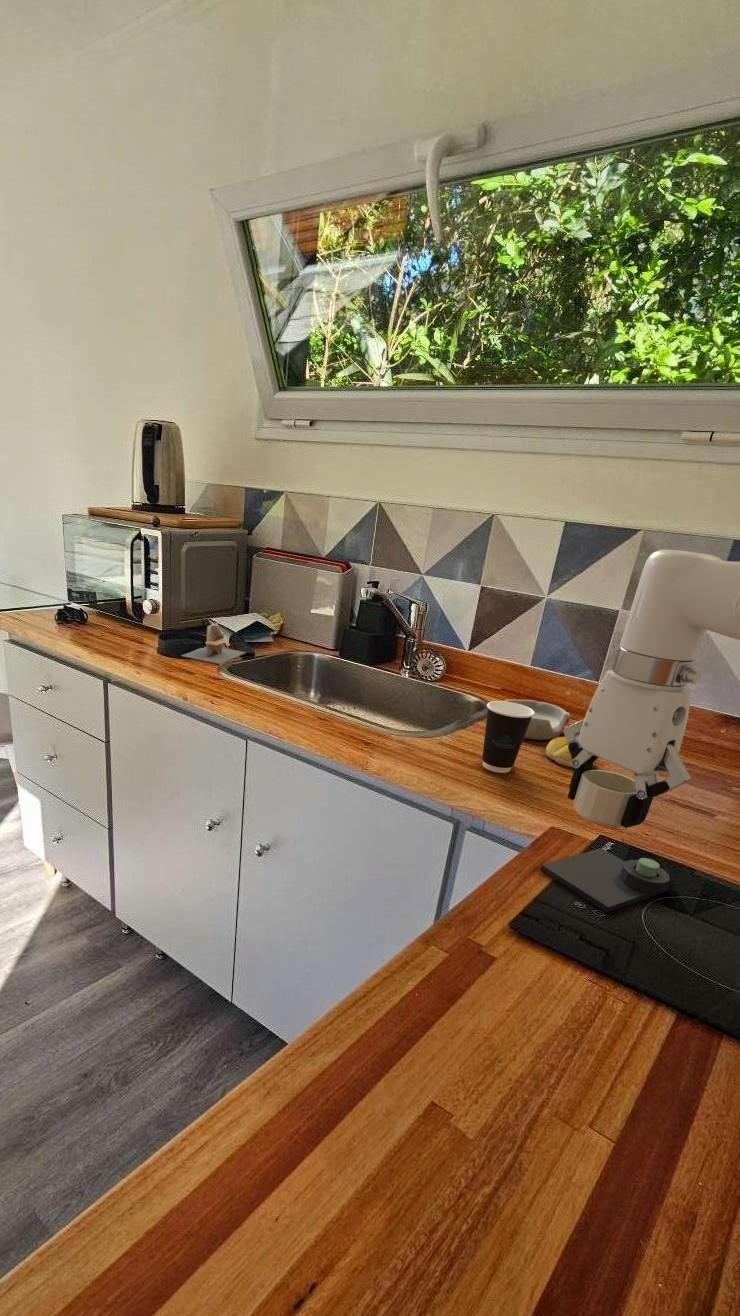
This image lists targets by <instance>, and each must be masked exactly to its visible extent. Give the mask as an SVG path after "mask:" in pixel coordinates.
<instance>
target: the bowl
mask: <svg viewBox="0 0 740 1316" xmlns="http://www.w3.org/2000/svg"><path fill="white" fill-rule="evenodd" d="M633 795H636V788H635V780H634V779H633V778H631V777H629V776H627V775H624V774H622V773H618V772H614V771H609V770H604V769H595V770H588V771H585V772H584V773H583V774H582V776H581V780H580V783H579V786H578V789H577V792H576V796H575V799H574V800H573V802H572V805H573V809H574V810H575V811H576V813H577V814H578V815H579V816H580V817H582V818H583V819H585V820H587V821H589V822H592V823H594V824H596V825H600V826H603V827H610V828H620V827H622V826H621V820H622V817H623V815H624V812H625V809H626V806H627V803H628V800H629V798H630V796H633Z"/></svg>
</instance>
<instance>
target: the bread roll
mask: <svg viewBox="0 0 740 1316" xmlns="http://www.w3.org/2000/svg"><path fill="white" fill-rule="evenodd" d="M568 745H569V744H568V743H567V740H566V737H565V736H558V737H556V738H553V739H550V741H549V742H548V744H547V745H546V746H545V755H546V757H548V758H549V759H550V760H552V761H554V762H556V764H559V765H561V766H564V767H567V768H574V767H573V766H572V760H573V759H572V756H571V754H570V752H569V749H568ZM595 763H596V762H595ZM595 763H594V764H593V766H595ZM574 769H575V768H574Z"/></svg>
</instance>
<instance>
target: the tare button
mask: <svg viewBox="0 0 740 1316" xmlns="http://www.w3.org/2000/svg"><path fill="white" fill-rule="evenodd" d="M638 860H639V861H638V864H637V867H636V872H637V873H639V874H641V875H643V876H646V877H652V878H655V877H656V876H657V873H658V870H659V868H661V865H660V863H658V862H657V861H656V860H654V859H651V858H646V857H641V858H639V859H638Z"/></svg>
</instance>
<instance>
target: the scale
mask: <svg viewBox="0 0 740 1316" xmlns="http://www.w3.org/2000/svg"><path fill="white" fill-rule="evenodd" d="M638 861H639V859H629V860H623V859H621V858H620V857H617V856H616V855H615V854H612V853H611V852H609V851H607V850H606V849H604V848H601V847H600V848H597V849H593V850H589V851H586V852H582V853H579V854H575V855H572V856H568V857H564V858H561V859H557V860H555V861H554V860H553V861H551V862H547V863H544V864H541V866H540V870H539V871H541V872H542V873H544V874H545V875H547V876H549V877H550V878H552V879H553V880H555V881H556V882H558V883H559V884H561V885H562V886H564V887H565V888H567V889H569V890H570V891H572V892H573V893H575V894H577V896H580V897H581V898H583V899H584V900H586V901H587V902H589V903H591V904H592V905H593V906H595V907H597V908H599V910H601V911H603V912H605V913H607V914H608V913H611V912H614V911H616V910H619V909H622V908H624V907H627V906H630V905H632V904H635V903H639V902H641V901H643V900H646V899H650V898H652V897H655V896H657V895H660V894H663V893H666V892H668V889H669V884H670V879H671V876H670V874H668V872H667V871H666V870H665V869H664V868H661V867H660V868H659V870H658V873H657V876H656V877H655V878H652V877H646V876H643V875H641V874H639V873H637V872H636V867H637V864H638Z"/></svg>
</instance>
